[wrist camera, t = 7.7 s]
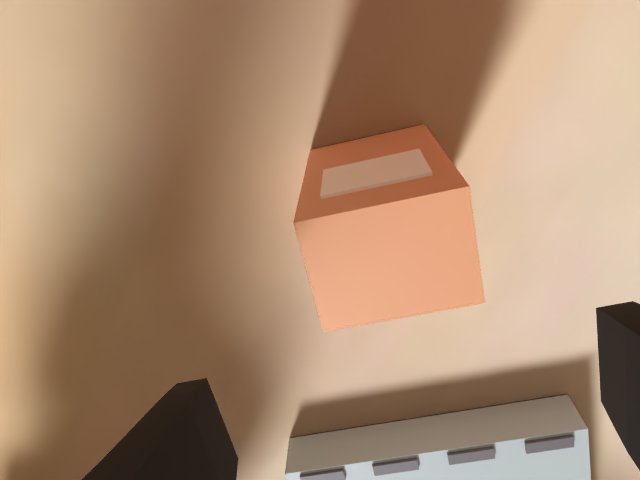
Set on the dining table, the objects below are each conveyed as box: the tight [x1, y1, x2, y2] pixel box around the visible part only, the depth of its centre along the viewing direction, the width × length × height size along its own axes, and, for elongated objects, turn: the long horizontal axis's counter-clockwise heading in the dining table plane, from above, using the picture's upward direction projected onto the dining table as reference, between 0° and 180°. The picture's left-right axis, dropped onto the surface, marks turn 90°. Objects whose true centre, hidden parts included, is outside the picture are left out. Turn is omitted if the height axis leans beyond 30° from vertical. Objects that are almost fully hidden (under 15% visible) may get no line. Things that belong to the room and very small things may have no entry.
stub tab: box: [293, 124, 485, 332], centre depth 16 cm, size 4×3×7 cm
